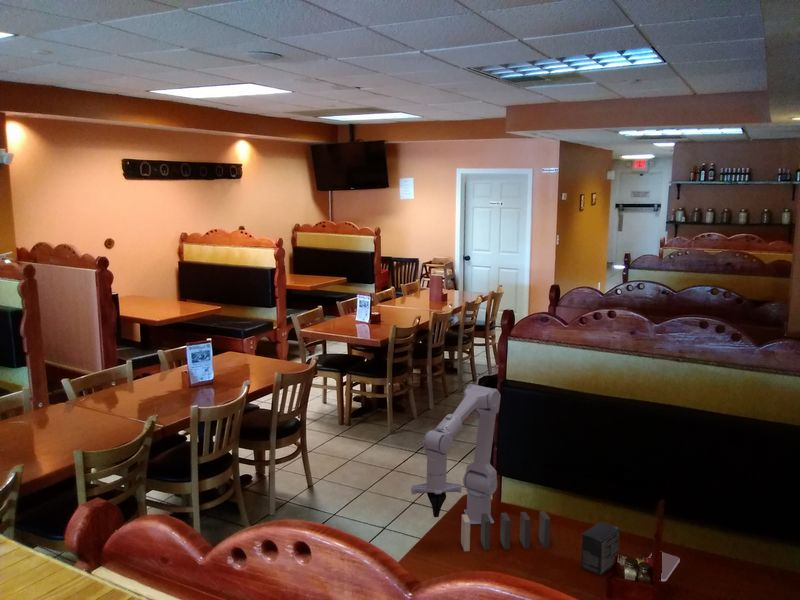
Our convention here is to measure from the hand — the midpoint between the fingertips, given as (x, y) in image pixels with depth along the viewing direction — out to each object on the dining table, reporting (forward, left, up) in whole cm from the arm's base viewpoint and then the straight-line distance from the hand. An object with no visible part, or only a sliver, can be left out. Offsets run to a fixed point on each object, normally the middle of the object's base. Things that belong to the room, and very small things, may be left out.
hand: (435, 515), depth 192 cm
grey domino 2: (0, +27, -10) cm, 29 cm away
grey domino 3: (0, +33, -10) cm, 35 cm away
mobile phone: (+15, +62, -11) cm, 64 cm away
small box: (+13, +45, -10) cm, 48 cm away
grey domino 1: (0, +15, -10) cm, 18 cm away
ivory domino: (0, +9, -10) cm, 14 cm away
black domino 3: (0, +21, -10) cm, 23 cm away
